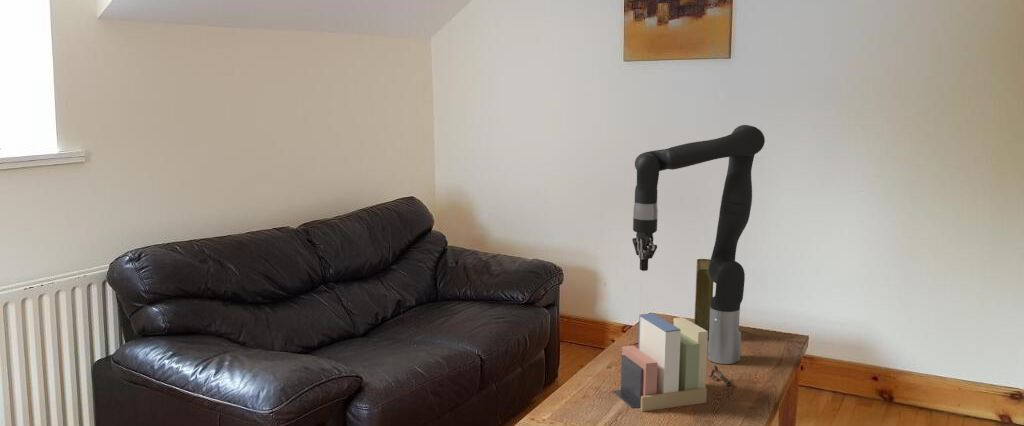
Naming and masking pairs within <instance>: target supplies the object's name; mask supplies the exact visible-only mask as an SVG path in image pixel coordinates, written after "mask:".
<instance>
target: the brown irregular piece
mask: <svg viewBox="0 0 1024 426" xmlns="http://www.w3.org/2000/svg"><path fill="white" fill-rule="evenodd" d="M715 373H716V375H714V374H715ZM717 375H718V376H717ZM709 378H712V380H714V381H715V382H719V378H720V379H721V380H722V381H723V382H724V383H725V385H724V387H727V386H731V384H732V382H733V381H732V380H731V379H730V380H729V379H728V378H727V377H725V375H724V374H723V373H722V372H721V371H720V370H719V369H718V366H717V365H716V364H715V365H714V364H711V372H710V373H709Z"/></svg>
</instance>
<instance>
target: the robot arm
mask: <svg viewBox="0 0 1024 426" xmlns="http://www.w3.org/2000/svg"><path fill="white" fill-rule="evenodd" d="M765 142H766V139H765V135H764V133H763V132H762V131H761V129H759V128H758V127H756V126H753V125H748V124H741V125H739V126H737V127H735V128H734V129H733V131H732V132H731V133H730V134H728V135H727V134H726V135H725V136H722V137H717V138H713V139H709V140H700V141H699V140H698V141H693V142H688V143H684V144H682V143H681V144H680V145H679V144H678V145H675V146H671V147H668V148H663V149H656V150H650V151H646V152H645V151H644V152H642V153H639V155H638V156H637V157H636V158H635V160H634V167H635V169H636V185H635V189H634V205H633V214H632V215H633V218H632V230H633V232H635V233H636V235H635V237H634V238H632V243H633V247H634V251H635V255H636V256H638V259H639V270H640V271H643V272H647V271H648V270H649V260H650V259H652V258H653V257H654V255H655V253H656V251H657V249H658V245H657V244H654V235H653V234H655V233H656V232H657V231H658V214H659V213H658V211H659V210H658V185H659V178H660V172H661V171H666V170H672V171H673V170H678V169H683V168H687V167H690V166H695V165H699V164H702V163H706V162H711V161H713V160H719V159H723V158H728V164H727V165H728V166H727V172H726V177H725V180H724V185H723V190H722V195H721V199H720V200H721V201H720V208H719V216H718V221H717V222H718V223H717V228H716V234H715V235H716V236H715V242H714V246H713V250H712V253H711V257H710V264H709V276H710V278H711V279H712V281H713V283H715V293H714V294H715V295H713V297H712V298H711V301H710V322H709V339H708V343H707V360H708V361H710V362H713V363H715V364H719V365H720V364H721V365H731V364H735V363H737V362H740V361H741V349H742V348H741V347H742V346H741V345H742V332H741V331H740V312H741V311H740V310H741V303H742V302H743V299H744V289H745V278H746V277H745V275H746V274H745V270H744V266H742V265H741V264H740V262H738V261H737V260H736V253H737V246H738V243H739V240H740V237H741V235H742V233H743V232H744V231H745V229H746V227H747V225H748V222H749V219H750V214H751V208H752V203H753V183H752V182H753V181H752V170H753V169H752V168H753V163H754V158H755V155H756V154H758V153H759V152H761V151H762V149H764V146H765Z"/></svg>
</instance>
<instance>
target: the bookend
mask: <svg viewBox="0 0 1024 426" xmlns="http://www.w3.org/2000/svg"><path fill="white" fill-rule="evenodd" d="M620 372H621V373H620V389H615V390H614V389H613V391H612V392H613V394H614V395H616V396H617V397H618V398H619V399H620V400H621V401H623V402H624V403H625V404H626V405H628V407H630V408H631V409H634V408H641V396H642V393H643V368H641V367H640V366H639V365H637V364H636V363H635V362H633V361H632V360H631V359H629V358H628V357H626V356H625V355H622V354H621V367H620Z"/></svg>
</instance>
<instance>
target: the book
mask: <svg viewBox="0 0 1024 426" xmlns="http://www.w3.org/2000/svg"><path fill="white" fill-rule="evenodd" d="M710 260H711V258H699V259H697V258H696V272H695V273H696V274H695V277H696V278H695V296H694V297H695V299H694V300H695V301H694V321H693V323H694V324H696V325H697V326H699V327H701V328H703V329H705V330H706V331H708V338H707V340H709V322H710V301H711V298H712V297H714V282H713V281H712V279H711V278H710V276H709V264H710Z"/></svg>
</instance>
